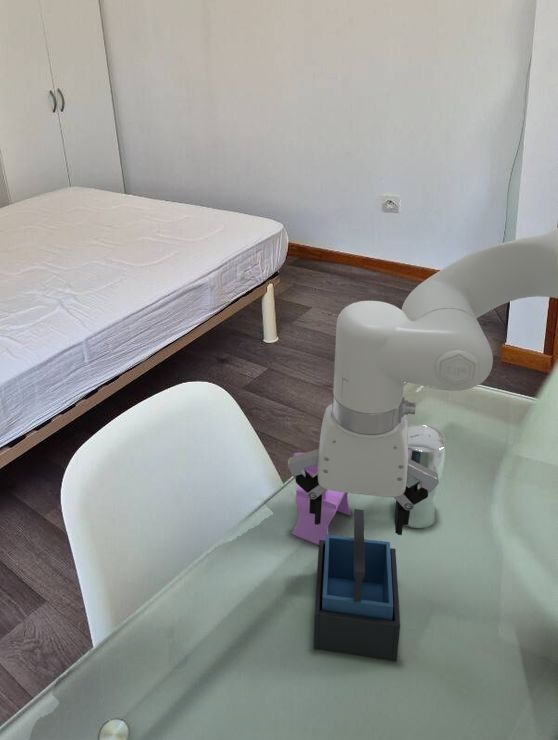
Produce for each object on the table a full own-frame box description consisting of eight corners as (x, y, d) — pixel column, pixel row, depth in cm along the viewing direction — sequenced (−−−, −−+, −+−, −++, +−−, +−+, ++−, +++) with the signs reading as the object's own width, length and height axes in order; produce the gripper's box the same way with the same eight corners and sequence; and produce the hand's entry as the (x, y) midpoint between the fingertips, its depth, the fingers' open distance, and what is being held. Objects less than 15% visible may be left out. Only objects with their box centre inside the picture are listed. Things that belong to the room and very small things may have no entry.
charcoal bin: (392, 583, 96) (395, 548, 93) (396, 662, 86) (400, 626, 83) (318, 573, 99) (319, 539, 96) (313, 649, 88) (314, 613, 85)
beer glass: (391, 527, 105) (398, 450, 99) (390, 496, 111) (396, 421, 105) (439, 533, 104) (450, 455, 97) (436, 501, 110) (445, 425, 103)
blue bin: (386, 584, 95) (392, 512, 90) (389, 651, 86) (396, 576, 81) (324, 576, 97) (326, 505, 92) (321, 641, 88) (323, 567, 83)
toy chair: (358, 514, 108) (362, 438, 102) (336, 552, 102) (339, 473, 95) (309, 496, 113) (310, 421, 106) (285, 531, 106) (285, 454, 100)
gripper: (443, 395, 79) (428, 508, 86) (291, 383, 83) (289, 492, 90) (451, 436, 72) (434, 554, 80) (286, 420, 76) (284, 535, 84)
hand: (357, 521), depth 85 cm, fingers open, 9 cm apart
